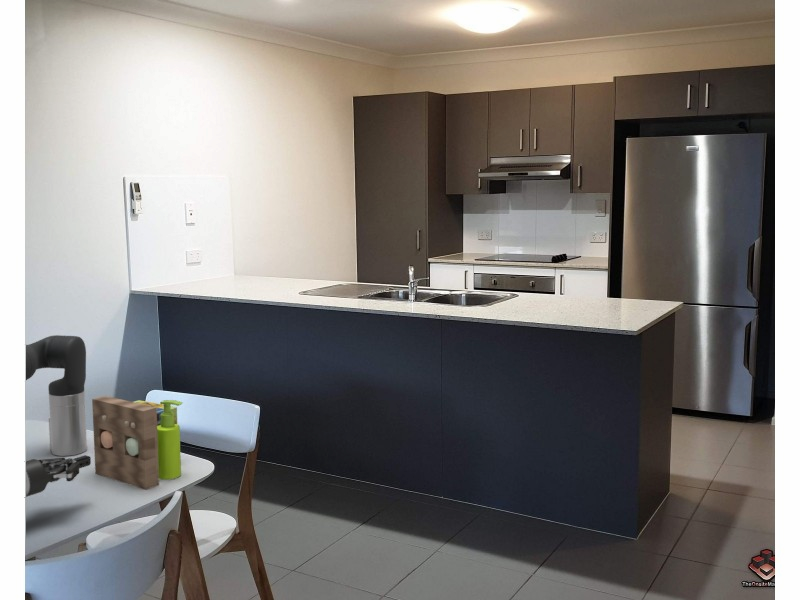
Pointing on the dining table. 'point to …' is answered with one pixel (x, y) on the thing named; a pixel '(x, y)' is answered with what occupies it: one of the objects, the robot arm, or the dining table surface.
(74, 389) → the robot arm
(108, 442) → the button one
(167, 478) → the soap dispenser
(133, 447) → the button two
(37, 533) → the dining table surface
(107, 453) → the button panel
